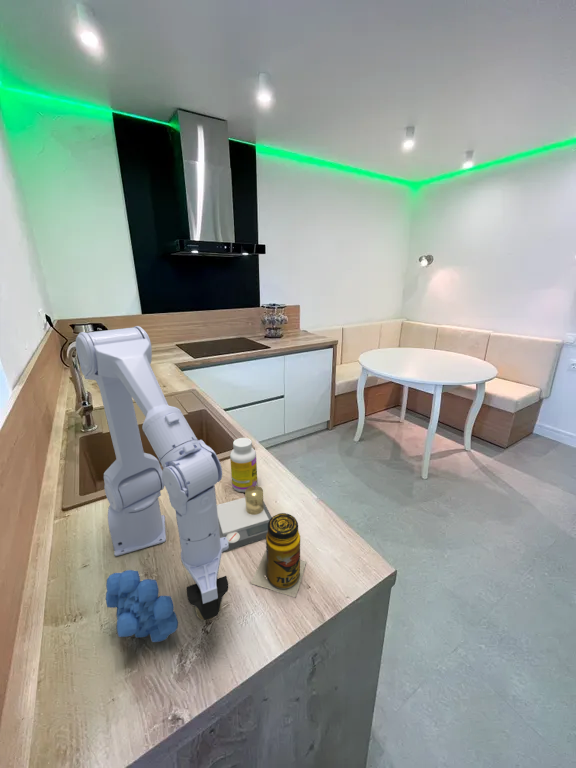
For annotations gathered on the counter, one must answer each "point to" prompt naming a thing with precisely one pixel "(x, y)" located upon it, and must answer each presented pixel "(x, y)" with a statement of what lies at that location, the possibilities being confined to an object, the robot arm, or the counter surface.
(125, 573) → the grapes
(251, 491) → the cylinder
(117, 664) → the counter surface
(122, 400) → the robot arm
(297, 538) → the condiment
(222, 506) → the scale
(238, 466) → the supplement bottle
